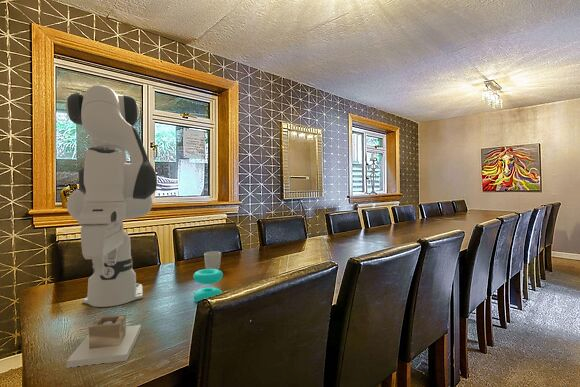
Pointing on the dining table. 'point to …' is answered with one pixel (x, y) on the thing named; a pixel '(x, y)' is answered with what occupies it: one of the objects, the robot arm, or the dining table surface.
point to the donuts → (207, 278)
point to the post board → (104, 350)
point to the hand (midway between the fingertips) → (106, 269)
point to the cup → (212, 260)
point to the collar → (107, 331)
